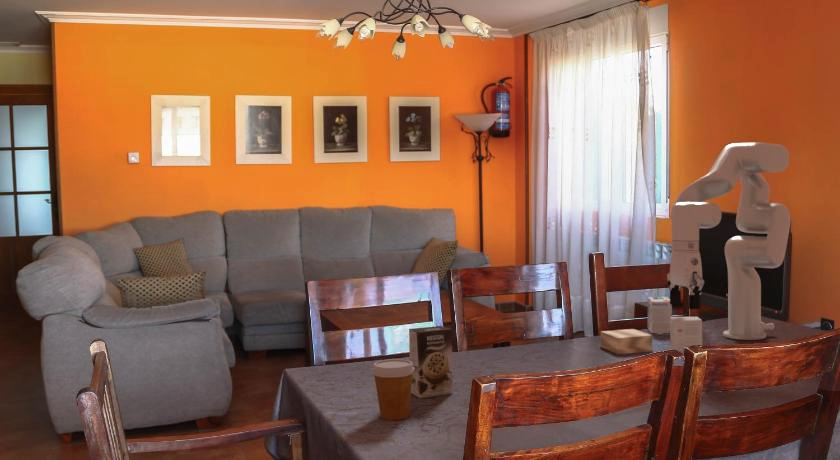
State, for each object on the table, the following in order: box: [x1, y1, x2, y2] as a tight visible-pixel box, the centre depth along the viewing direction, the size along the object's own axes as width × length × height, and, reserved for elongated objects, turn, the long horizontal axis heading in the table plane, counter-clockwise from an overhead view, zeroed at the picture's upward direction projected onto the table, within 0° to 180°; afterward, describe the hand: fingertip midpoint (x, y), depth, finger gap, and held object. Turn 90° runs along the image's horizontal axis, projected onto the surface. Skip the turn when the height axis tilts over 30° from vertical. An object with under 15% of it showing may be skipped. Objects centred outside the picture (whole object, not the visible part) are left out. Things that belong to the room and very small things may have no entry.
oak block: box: [600, 328, 653, 355], centre depth 251 cm, size 11×11×5 cm
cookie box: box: [408, 325, 454, 399], centre depth 207 cm, size 9×6×16 cm
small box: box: [669, 316, 703, 351], centre depth 242 cm, size 8×6×10 cm
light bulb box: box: [647, 296, 673, 334], centre depth 276 cm, size 11×7×11 cm, turn 172°
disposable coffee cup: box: [371, 358, 415, 421], centre depth 188 cm, size 10×10×12 cm
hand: (684, 306), depth 241 cm, fingers open, 9 cm apart
